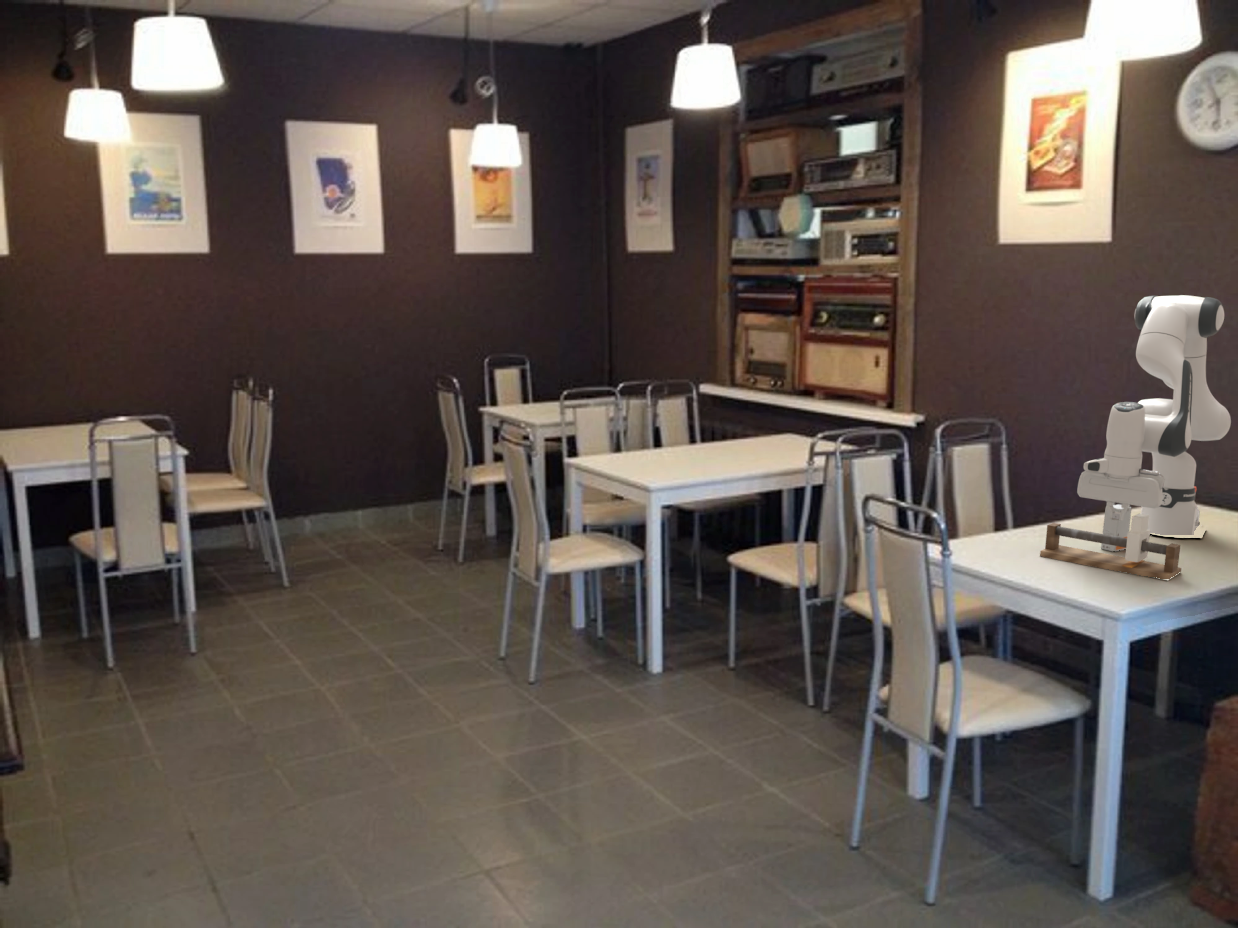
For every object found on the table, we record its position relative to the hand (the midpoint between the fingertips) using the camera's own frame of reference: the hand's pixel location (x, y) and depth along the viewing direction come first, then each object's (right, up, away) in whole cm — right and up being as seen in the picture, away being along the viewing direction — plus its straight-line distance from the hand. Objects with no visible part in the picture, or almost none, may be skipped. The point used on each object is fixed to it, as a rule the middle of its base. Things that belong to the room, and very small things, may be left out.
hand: (1116, 519), depth 288 cm
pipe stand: (-1, -12, +3) cm, 12 cm away
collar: (+4, -10, -2) cm, 11 cm away
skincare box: (+8, -9, +19) cm, 23 cm away
